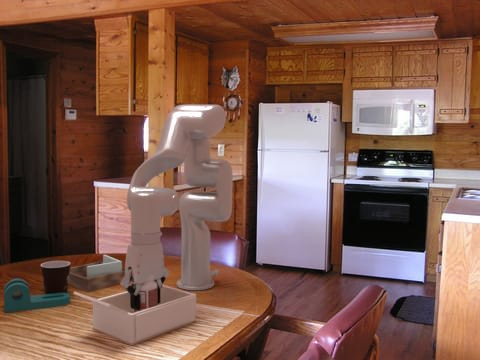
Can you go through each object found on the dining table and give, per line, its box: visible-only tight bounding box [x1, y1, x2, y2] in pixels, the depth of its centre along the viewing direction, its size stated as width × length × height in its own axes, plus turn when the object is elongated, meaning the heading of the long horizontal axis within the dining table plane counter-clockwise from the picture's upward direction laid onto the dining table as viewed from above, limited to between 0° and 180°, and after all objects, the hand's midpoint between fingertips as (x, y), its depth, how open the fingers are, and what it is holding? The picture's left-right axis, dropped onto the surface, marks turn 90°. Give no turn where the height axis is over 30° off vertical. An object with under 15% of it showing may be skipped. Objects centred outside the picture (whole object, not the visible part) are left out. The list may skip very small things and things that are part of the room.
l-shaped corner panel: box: [86, 254, 123, 278], centre depth 178 cm, size 12×12×8 cm
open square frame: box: [68, 261, 125, 293], centre depth 179 cm, size 17×17×4 cm
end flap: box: [73, 291, 128, 314], centre depth 128 cm, size 1×14×6 cm
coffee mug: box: [40, 260, 71, 294], centre depth 164 cm, size 12×9×10 cm
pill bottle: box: [134, 275, 158, 313], centre depth 139 cm, size 6×6×11 cm
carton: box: [92, 284, 197, 346], centre depth 139 cm, size 22×17×8 cm
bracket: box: [3, 278, 71, 314], centre depth 154 cm, size 18×7×8 cm, turn 115°
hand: (145, 305), depth 139 cm, fingers closed on pill bottle, 6 cm apart
